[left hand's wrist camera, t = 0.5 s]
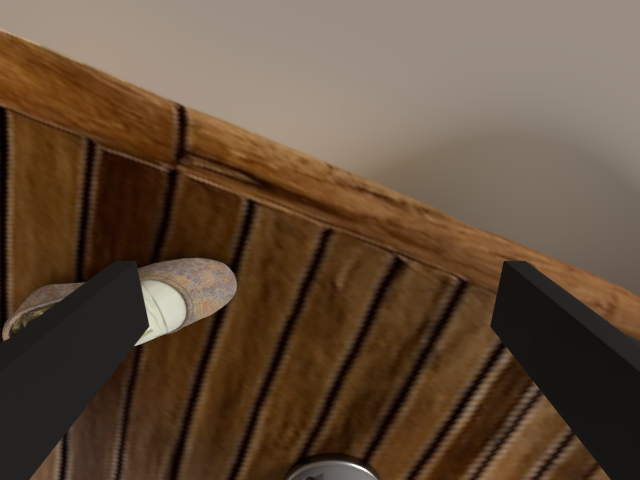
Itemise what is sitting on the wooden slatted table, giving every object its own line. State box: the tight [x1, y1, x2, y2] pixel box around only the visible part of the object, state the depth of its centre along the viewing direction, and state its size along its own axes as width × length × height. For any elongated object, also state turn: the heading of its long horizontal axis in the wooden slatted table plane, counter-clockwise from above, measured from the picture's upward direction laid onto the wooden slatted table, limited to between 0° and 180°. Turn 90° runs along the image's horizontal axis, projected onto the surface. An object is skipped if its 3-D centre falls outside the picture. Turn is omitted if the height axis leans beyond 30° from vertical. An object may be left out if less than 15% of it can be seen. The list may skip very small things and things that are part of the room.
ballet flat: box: [2, 258, 237, 346], centre depth 37 cm, size 8×25×8 cm, turn 103°
